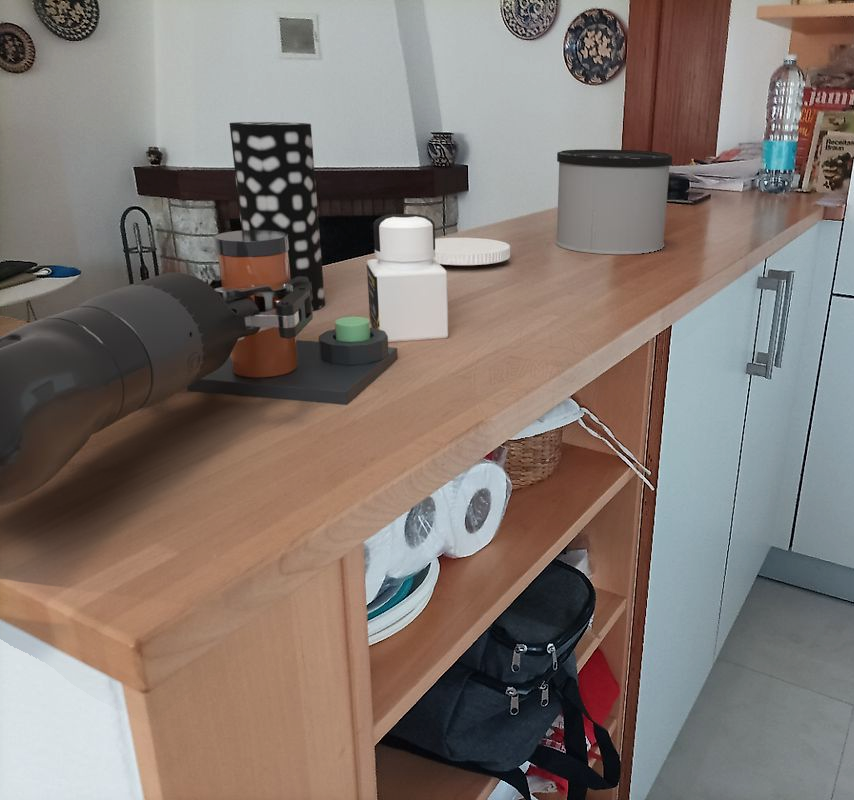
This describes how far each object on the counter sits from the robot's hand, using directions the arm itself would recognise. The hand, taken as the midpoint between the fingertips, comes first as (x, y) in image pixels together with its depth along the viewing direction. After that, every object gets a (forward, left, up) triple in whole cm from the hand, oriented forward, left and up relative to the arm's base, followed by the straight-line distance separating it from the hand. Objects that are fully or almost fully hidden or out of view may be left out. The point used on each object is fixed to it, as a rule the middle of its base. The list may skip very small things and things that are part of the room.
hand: (272, 286), depth 67 cm
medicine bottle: (+7, +15, -8) cm, 18 cm away
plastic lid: (+3, +52, -8) cm, 52 cm away
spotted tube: (-10, +22, -8) cm, 25 cm away
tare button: (+6, +3, -5) cm, 8 cm away
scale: (+2, 0, -8) cm, 8 cm away
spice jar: (0, -3, -6) cm, 7 cm away
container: (+23, +74, -8) cm, 78 cm away
